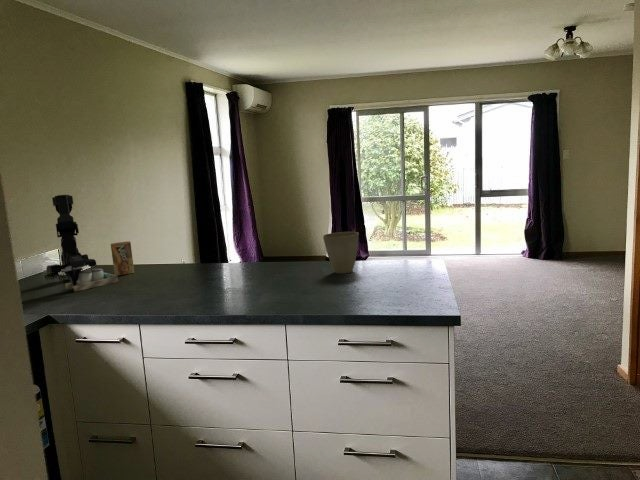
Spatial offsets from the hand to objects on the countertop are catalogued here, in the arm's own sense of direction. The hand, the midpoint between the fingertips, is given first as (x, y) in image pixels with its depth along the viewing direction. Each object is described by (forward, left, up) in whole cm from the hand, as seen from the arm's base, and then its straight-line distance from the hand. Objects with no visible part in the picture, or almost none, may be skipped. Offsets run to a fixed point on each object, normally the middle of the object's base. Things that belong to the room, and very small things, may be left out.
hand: (74, 285), depth 222 cm
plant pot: (+86, +75, -2) cm, 115 cm away
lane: (-1, +7, -2) cm, 8 cm away
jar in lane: (-1, +11, -2) cm, 11 cm away
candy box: (-12, +28, -2) cm, 31 cm away
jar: (-1, +4, -1) cm, 5 cm away
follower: (-1, +14, -1) cm, 14 cm away
